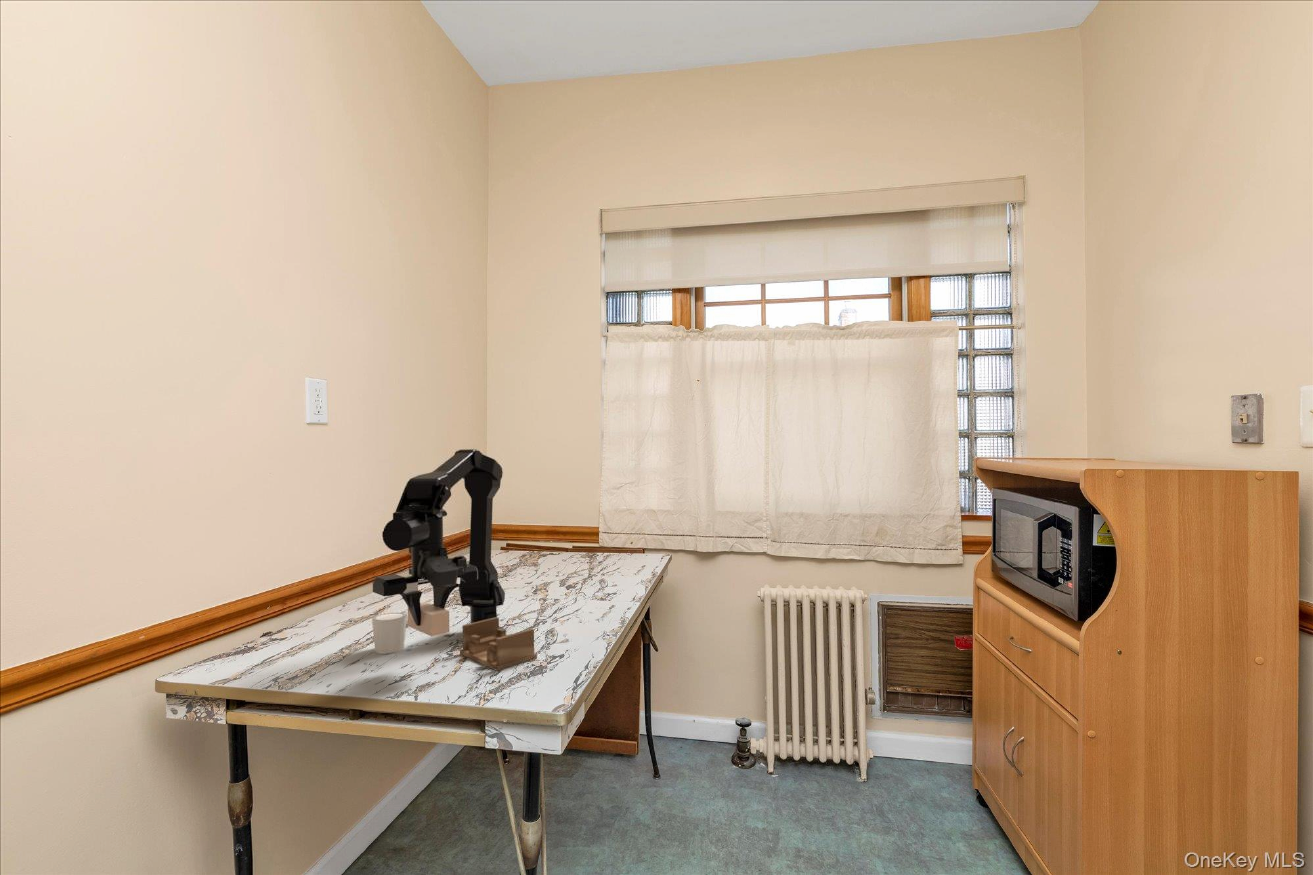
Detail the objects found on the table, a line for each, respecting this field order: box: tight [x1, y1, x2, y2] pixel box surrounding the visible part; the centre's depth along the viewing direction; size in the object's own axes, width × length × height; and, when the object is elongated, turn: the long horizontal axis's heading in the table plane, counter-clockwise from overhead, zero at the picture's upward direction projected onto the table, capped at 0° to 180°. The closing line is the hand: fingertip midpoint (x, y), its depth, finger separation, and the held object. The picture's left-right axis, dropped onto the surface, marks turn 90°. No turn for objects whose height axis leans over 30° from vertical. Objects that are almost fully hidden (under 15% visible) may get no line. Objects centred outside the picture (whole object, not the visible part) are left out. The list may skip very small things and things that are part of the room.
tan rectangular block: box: [407, 601, 450, 637], centre depth 115 cm, size 10×4×4 cm, turn 47°
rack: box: [459, 616, 538, 672], centre depth 123 cm, size 14×9×6 cm, turn 47°
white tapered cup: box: [371, 612, 408, 655], centre depth 128 cm, size 7×7×7 cm
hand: (428, 623), depth 115 cm, fingers closed on tan rectangular block, 3 cm apart
